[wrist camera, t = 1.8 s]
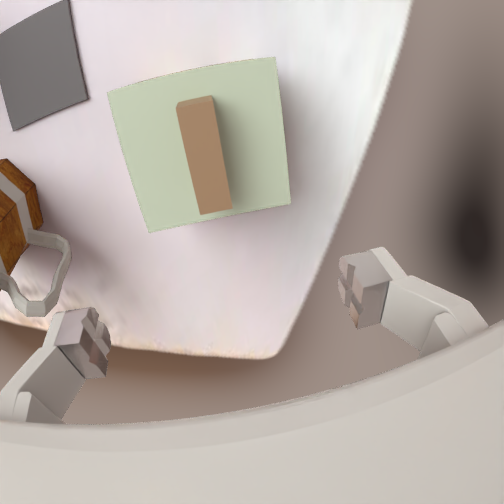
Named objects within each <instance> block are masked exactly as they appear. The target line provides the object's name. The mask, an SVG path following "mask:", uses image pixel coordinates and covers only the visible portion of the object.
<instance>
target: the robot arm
mask: <svg viewBox="0 0 504 504" xmlns="http://www.w3.org/2000/svg"><path fill="white" fill-rule="evenodd" d="M339 268H340V270H341V271H342V274H341V275H340V276H339V278H338V287H339V293H340V296H341V299H342V301H343V303H344V305H346V306H347V307H350V314H349V315H350V316H351V318H352V320H353V322H354V324H355V326H356V328H357V329H360V328H363V327H367V326H370V325H374V324H378V323H381V325H383V326H384V327H386V328H387V329H389V330H390V331H392V332H393V333H394V334H396V335H397V336H399V337H400V338H402V339H403V340H405V341H406V342H408V343H409V344H411V345H412V346H413V347H415V348H416V349H418V350H419V351H421V352H420V355H419V357H418V359H417V360H415V361H413V362H410V363H408V364H405V365H402V366H400V367H397V368H394V369H391V370H389V371H386V372H383V373H381V374H377V375H374V376H372V377H369V378H365V379H362V380H359V381H356V382H353V383H350V384H347V385H344V386H340V387H337V388H333V389H330V390H326V391H323V392H319V393H316V394H312V395H308V396H304V397H300V398H296V399H292V400H288V401H283V402H279V403H274V404H270V405H265V406H260V407H255V408H250V409H245V410H240V411H234V412H228V413H221V414H215V415H208V416H201V417H194V418H186V419H177V420H167V421H156V422H143V423H125V424H93V425H92V424H66V423H65V422H63V421H62V420H61V419H62V418H63V416H64V414H65V413H66V411H67V409H68V408H69V406H70V404H71V403H72V401H73V400H74V398H75V396H76V395H77V393H78V392H79V390H80V389H81V387H82V385H83V384H84V382H85V379H91V378H100V377H106V372H107V366H108V360H107V358H106V357H105V356H106V355H107V353H108V352H109V351H110V347H111V340H110V334H109V331H108V329H107V327H106V326H105V324H104V323H102V322H100V321H99V320H98V317H99V314H98V313H97V311H96V310H95V308H92V307H88V308H81V309H74V310H68V311H62V312H57V313H55V314H54V315H53V318H52V321H51V323H50V326H49V329H48V332H47V335H46V338H45V341H44V344H43V347H42V348H39V349H38V350H37V351H36V352H35V353H34V354H33V355H32V356H31V357H30V359H28V361H27V362H26V363H25V364H24V365H23V366H22V367H21V368H20V370H19V371H18V372H17V373H16V374H15V375H14V377H12V379H11V380H10V381H9V382H8V383H7V384H6V386H5V387H4V388H3V389H2V390H1V393H0V504H504V319H503V320H501V321H499V322H497V323H496V324H494V325H492V326H490V327H489V326H488V324H487V323H486V322H485V321H484V319H483V318H482V317H481V315H480V314H479V313H478V311H477V310H476V309H475V308H474V306H473V305H472V304H471V302H469V301H467V300H465V299H463V298H461V297H459V296H457V295H455V294H452V293H450V292H448V291H446V290H443V289H441V288H439V287H437V286H435V285H432V284H430V283H428V282H426V281H423V280H421V279H419V278H417V277H414V276H412V275H410V276H407V275H406V273H405V272H404V271H403V270H402V268H401V267H400V266H399V265H398V263H397V262H396V261H395V260H394V258H393V257H392V256H391V255H390V253H389V252H388V251H387V250H386V249H385V248H384V247H379V248H375V249H371V250H368V251H364V252H360V253H356V254H351V255H347V256H343V257H341V258H340V260H339Z"/></svg>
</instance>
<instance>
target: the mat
mask: <svg viewBox="0 0 504 504" xmlns="http://www.w3.org/2000/svg"><path fill="white" fill-rule="evenodd" d="M0 84H1V88H2V92H3V97H4V100H5V104H6V108H7V112H8V115H9V119H10V122H11V126H12V129H13V131H15V130H17V129H19V128H21V127H23V126H25V125H27V124H29V123H31V122H33V121H36V120H38V119H40V118H42V117H44V116H47V115H49V114H51V113H54V112H56V111H58V110H61V109H63V108H66V107H68V106H71V105H73V104H76V103H78V102H81V101H84V100H86V99H88V96H87V92H86V87H85V83H84V79H83V75H82V70H81V66H80V61H79V56H78V51H77V46H76V41H75V36H74V30H73V24H72V18H71V12H70V5H69V0H62V1H60V2H58V3H56V4H53V5H51V6H49V7H47V8H45V9H43V10H41V11H39V12H37V13H35V14H34V15H32V16H30V17H28V18H26V19H24V20H23V21H21V22H19V23H17V24H16V25H14V26H12V27H11V28H9V29H7V30H6V31H4V32H2V33H1V34H0Z"/></svg>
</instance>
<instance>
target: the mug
mask: <svg viewBox="0 0 504 504" xmlns="http://www.w3.org/2000/svg"><path fill="white" fill-rule="evenodd" d="M42 224H43V219H42V215H41V210H40V206H39V201H38V196H37V191H36V186H35V184H34V183H33V182H32V181H31V180H30V179H29V178H28V177H26V176H25V175H24V174H23V173H22V172H21V171H20V170H19V169H18V168H16V167H15V166H14V165H13V164H12V163H11V162H10V161H9V160H8V159H1V160H0V291H1V289H2V290H4V291H6V292H8V294H9V295H10V297H11V299H12V302H13V304H14V306H15V308H17V309H18V310H19V311H20V312H22V313H23V314H24V315H25V316H27V317H45V316H46V315H47V314H48V313H49V312H50V311H51V309H52V308H53V307H54V306H55V305H56V304H57V302H58V299H59V295H60V291H61V287H62V283H63V280H64V278H65V275H66V273H67V270H68V268H69V264H70V261H71V258H72V257H71V249H70V244H69V241H67V240H66V239H64V238H63V237H62V236H60V235H59V234H53V233H47V232H42V231H38V230H39V228H40V227H41V225H42ZM29 244H33V245H37V246H42V247H48V248H55V249H57V250H58V251H60V252H61V253H62V254H63V257H62V259H61V262H60V264H59V266H58V268H57V270H56V272H55V275H54V277H53V281H52V286H51V291H50V292H49V293H48V295H47V296H46V297H45V299H44V300H43V301H29V300H28V299H27V298H25V297H24V296H23V295H22V294H21V293H20V291H19V288H18V286H17V284H16V282H15V280H14V279H13V278H12V277H11V276H10V274H11V272H12V271H13V269H14V267H15V265H16V263H17V261H18V260H19V258H20V256H21V254H22V253H23V252H24V251H25V250H26V249H27V248H28V246H29Z"/></svg>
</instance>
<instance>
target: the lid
mask: <svg viewBox="0 0 504 504" xmlns="http://www.w3.org/2000/svg"><path fill="white" fill-rule="evenodd" d="M107 95H108V99H109V103H110V107H111V111H112V115H113V119H114V122H115V126H116V130H117V134H118V137H119V141H120V144H121V148H122V151H123V155H124V158H125V161H126V165H127V168H128V171H129V175H130V178H131V181H132V184H133V187H134V190H135V193H136V197H137V200H138V203H139V206H140V209H141V212H142V215H143V217H144V220H145V223H146V226H147V229H148V232H149V233H152V232H156V231H161V230H165V229H170V228H174V227H179V226H183V225H188V224H193V223H197V222H202V221H207V220H212V219H216V218H221V217H226V216H231V215H236V214H241V213H246V212H251V211H256V210H261V209H267V208H272V207H277V206H282V205H288V204H291V198H290V187H289V175H288V165H287V154H286V144H285V135H284V125H283V116H282V107H281V99H280V90H279V82H278V74H277V66H276V59H275V57H268V58H259V59H251V60H243V61H236V62H230V63H223V64H217V65H212V66H206V67H201V68H196V69H191V70H187V71H182V72H178V73H173V74H169V75H165V76H161V77H157V78H153V79H149V80H146V81H142V82H139V83H135V84H132V85H128V86H125V87H122V88H119V89H115V90H112V91H110V92H107Z"/></svg>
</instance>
